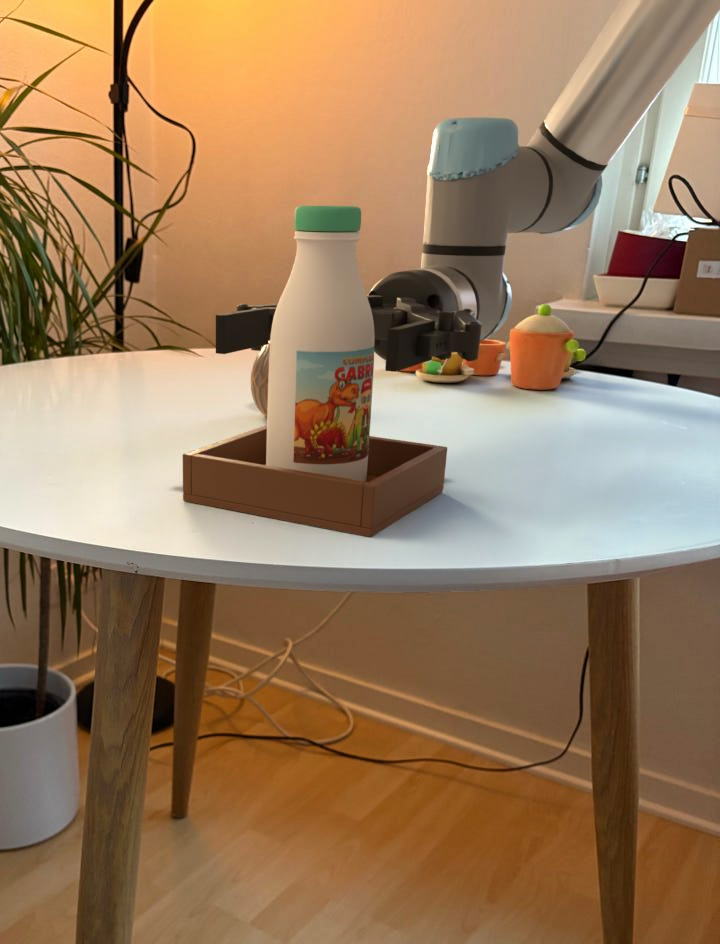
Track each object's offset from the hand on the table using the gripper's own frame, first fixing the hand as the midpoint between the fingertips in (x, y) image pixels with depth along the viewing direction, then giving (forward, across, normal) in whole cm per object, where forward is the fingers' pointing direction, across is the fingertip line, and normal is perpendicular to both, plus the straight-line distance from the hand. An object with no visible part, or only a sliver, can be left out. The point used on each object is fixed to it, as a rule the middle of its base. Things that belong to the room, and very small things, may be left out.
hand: (301, 342), depth 69 cm
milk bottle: (-3, 0, -12) cm, 12 cm away
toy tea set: (-63, +8, -12) cm, 65 cm away
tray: (-3, 0, -12) cm, 12 cm away
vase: (-28, +17, -12) cm, 35 cm away
